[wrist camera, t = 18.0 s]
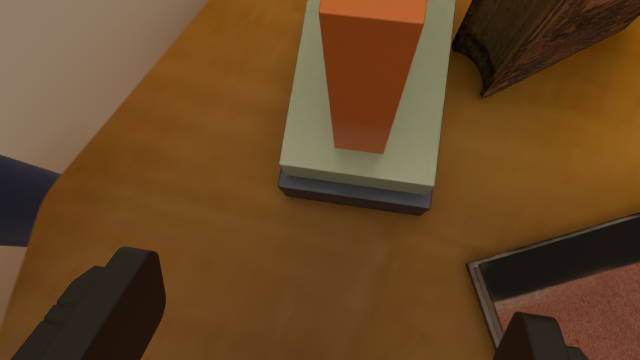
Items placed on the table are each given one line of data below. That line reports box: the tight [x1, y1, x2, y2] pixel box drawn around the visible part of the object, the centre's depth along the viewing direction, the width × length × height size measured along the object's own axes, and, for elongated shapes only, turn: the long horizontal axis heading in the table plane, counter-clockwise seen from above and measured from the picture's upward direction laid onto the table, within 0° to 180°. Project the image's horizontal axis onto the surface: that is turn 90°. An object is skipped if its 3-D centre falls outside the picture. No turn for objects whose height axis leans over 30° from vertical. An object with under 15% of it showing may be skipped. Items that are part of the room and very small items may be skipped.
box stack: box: [278, 0, 456, 216], centre depth 39 cm, size 12×20×9 cm, turn 171°
